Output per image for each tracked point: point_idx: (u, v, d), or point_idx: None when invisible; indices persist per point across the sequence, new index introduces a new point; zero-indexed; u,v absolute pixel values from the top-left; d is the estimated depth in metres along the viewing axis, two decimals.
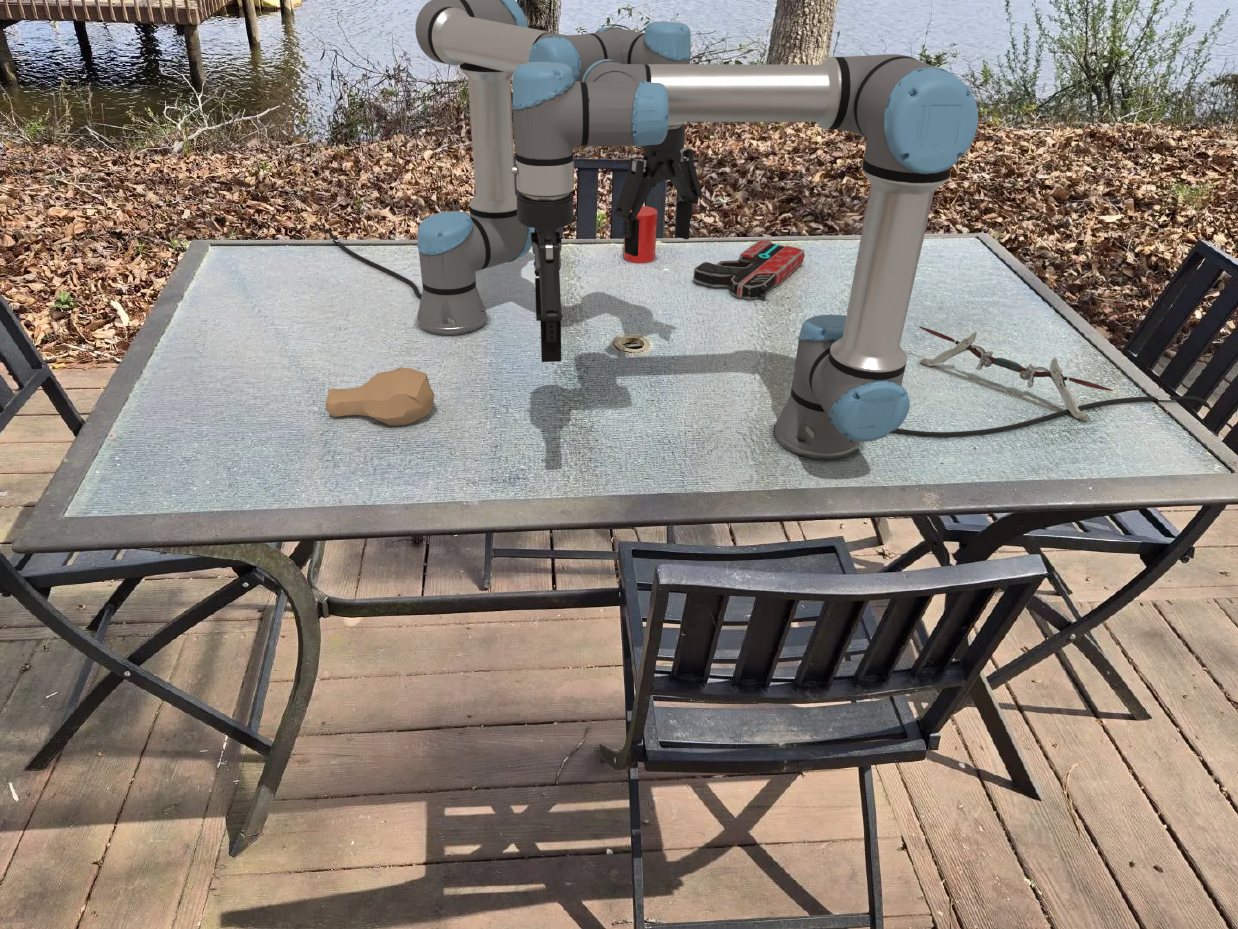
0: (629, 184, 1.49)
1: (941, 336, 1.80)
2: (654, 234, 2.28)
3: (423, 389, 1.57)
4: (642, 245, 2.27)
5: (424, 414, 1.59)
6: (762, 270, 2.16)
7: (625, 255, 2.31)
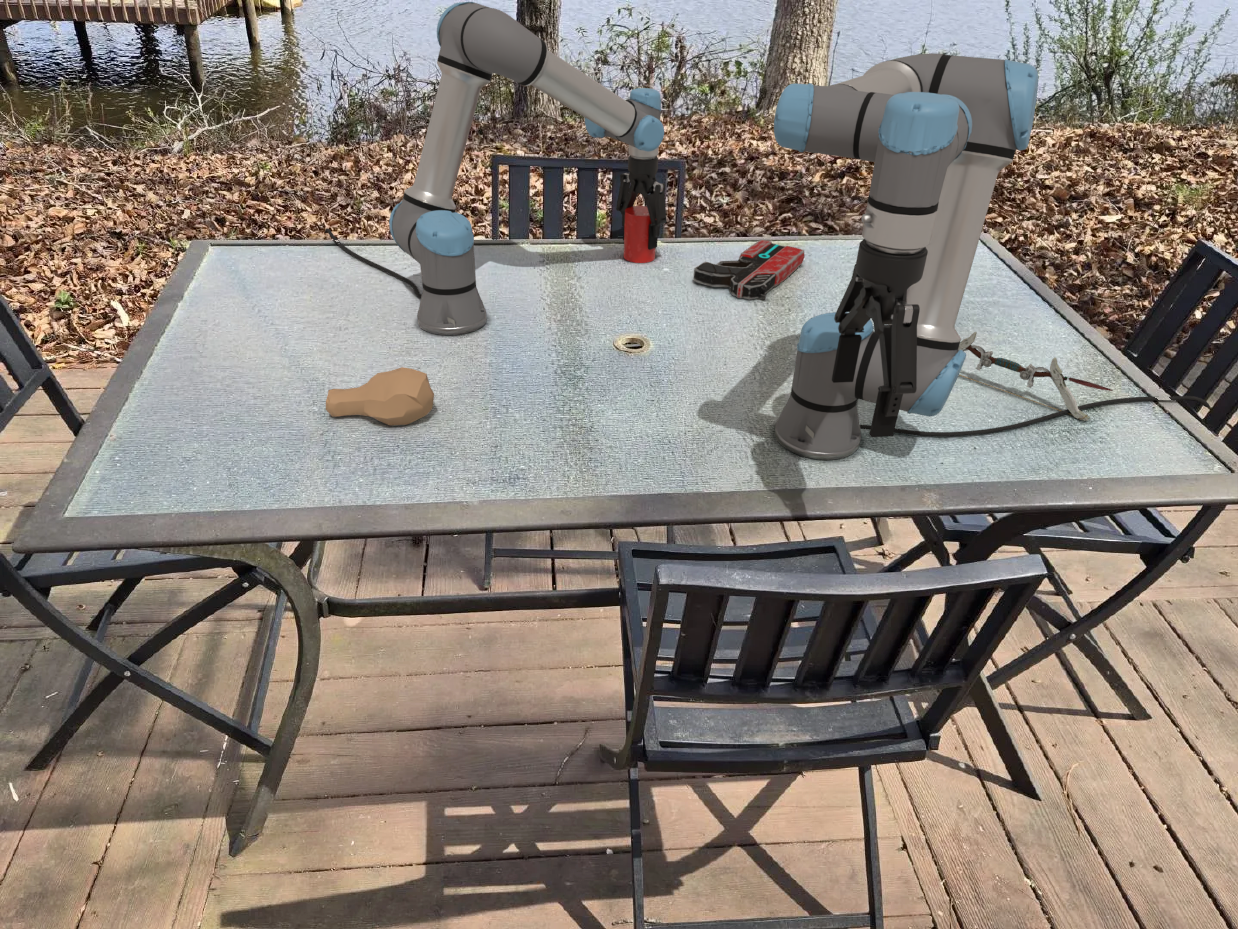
0: (661, 201, 2.21)
1: None
2: None
3: (423, 389, 1.57)
4: (642, 245, 2.27)
5: (424, 414, 1.59)
6: (762, 270, 2.16)
7: (625, 255, 2.31)
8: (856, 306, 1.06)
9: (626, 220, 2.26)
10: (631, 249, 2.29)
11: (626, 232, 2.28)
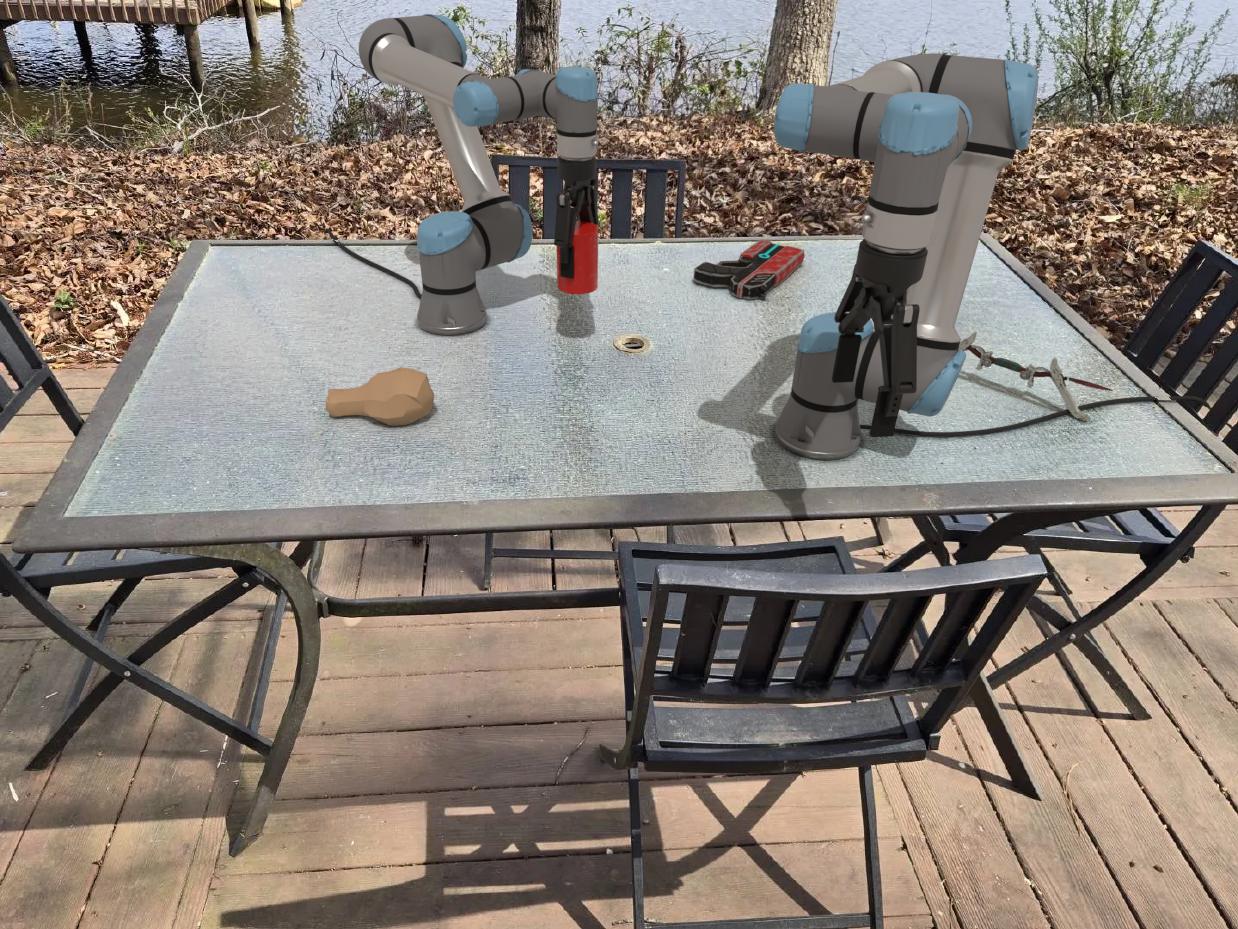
0: (561, 217, 1.67)
1: None
2: None
3: (423, 389, 1.57)
4: (558, 267, 1.77)
5: (424, 414, 1.59)
6: (762, 270, 2.16)
7: None
8: (856, 306, 1.06)
9: None
10: None
11: None
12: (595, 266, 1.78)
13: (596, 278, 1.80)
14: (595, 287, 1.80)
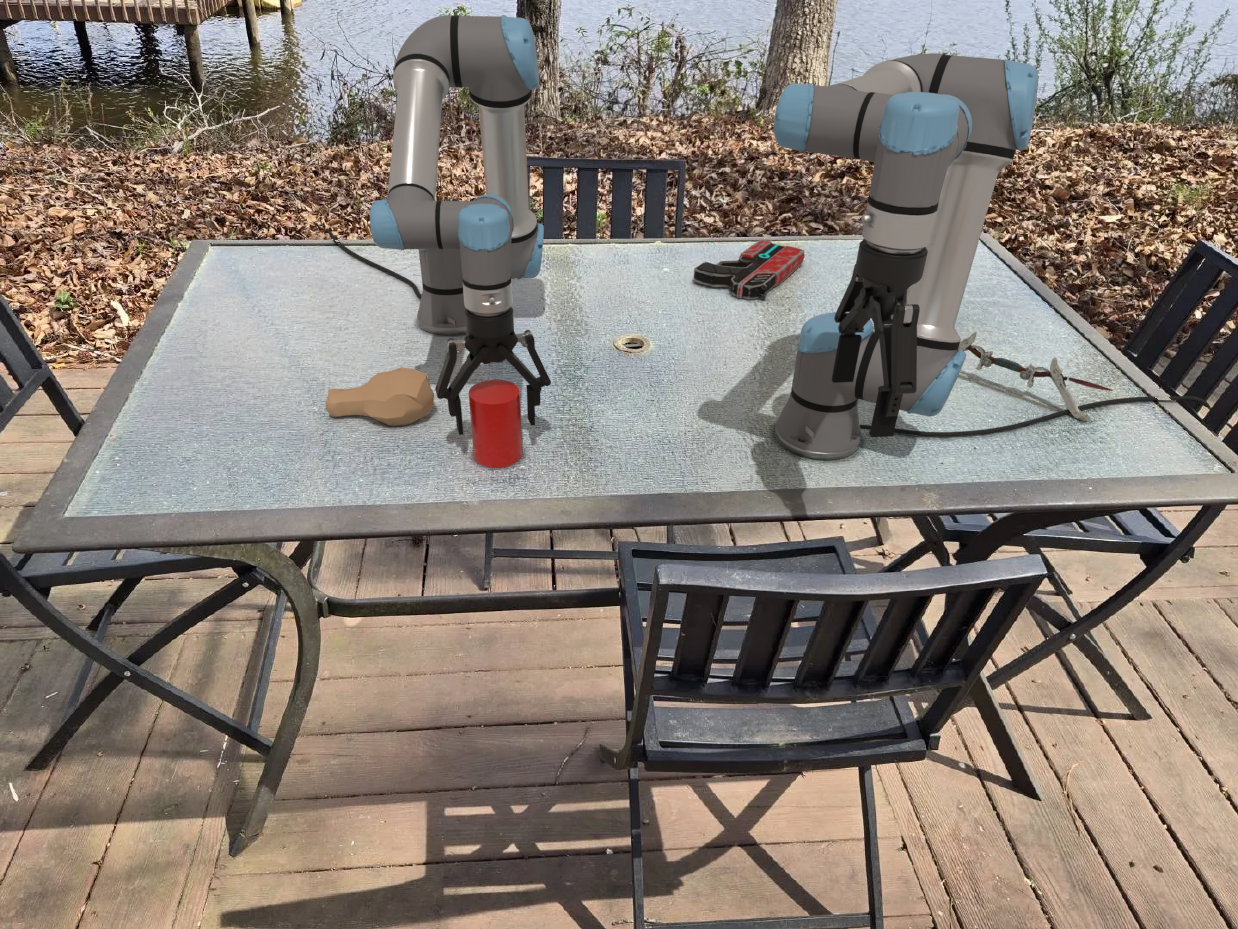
0: (445, 365, 1.40)
1: None
2: (473, 426, 1.47)
3: (423, 389, 1.57)
4: None
5: (424, 414, 1.59)
6: (762, 270, 2.16)
7: None
8: (856, 306, 1.06)
9: None
10: None
11: None
12: (499, 442, 1.46)
13: (503, 455, 1.48)
14: (501, 464, 1.49)
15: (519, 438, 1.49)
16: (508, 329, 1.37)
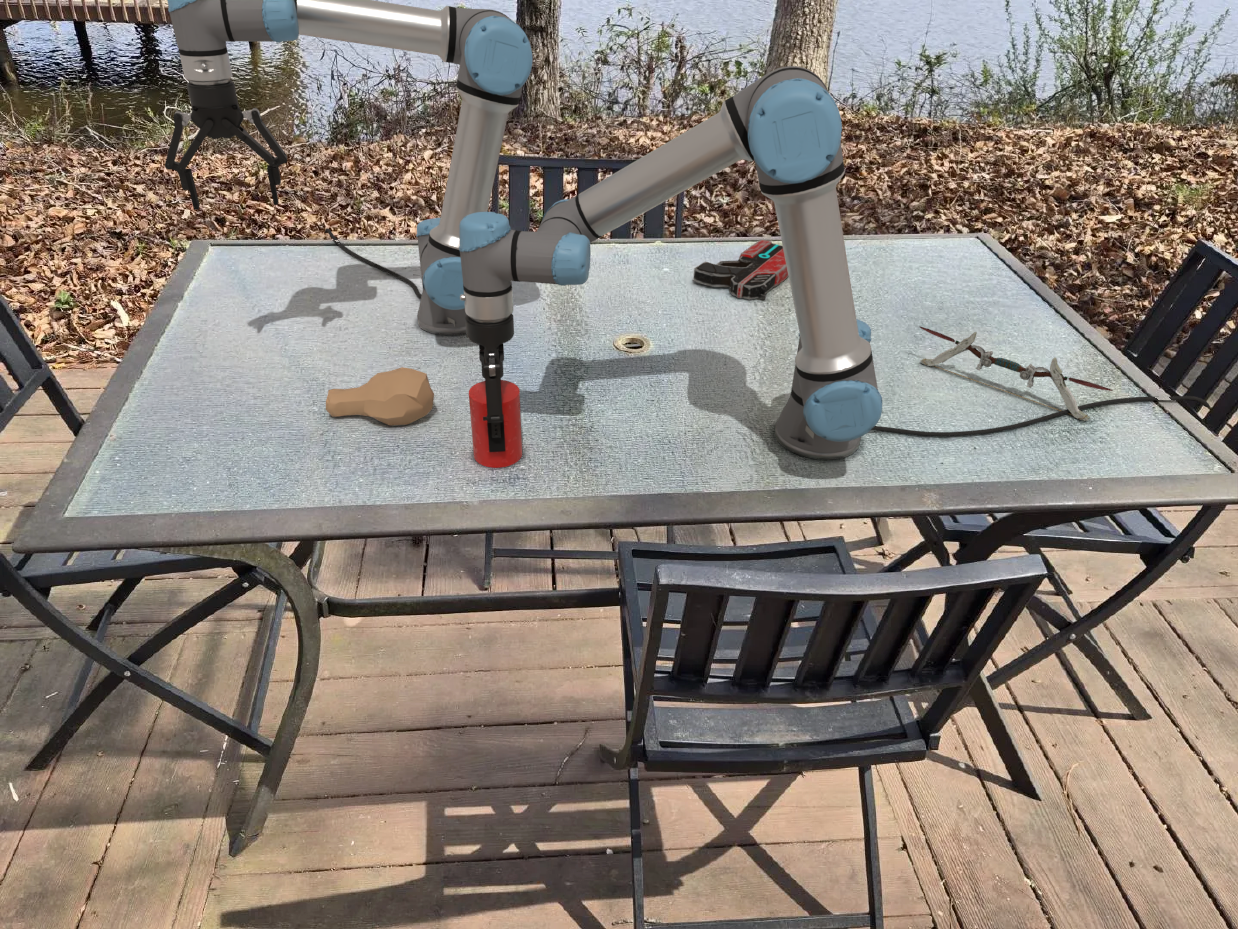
0: None
1: (941, 336, 1.80)
2: (473, 426, 1.47)
3: (423, 389, 1.57)
4: None
5: (424, 414, 1.59)
6: (762, 270, 2.16)
7: None
8: None
9: None
10: None
11: None
12: None
13: (503, 455, 1.48)
14: (501, 464, 1.49)
15: (519, 438, 1.49)
16: (227, 100, 1.49)
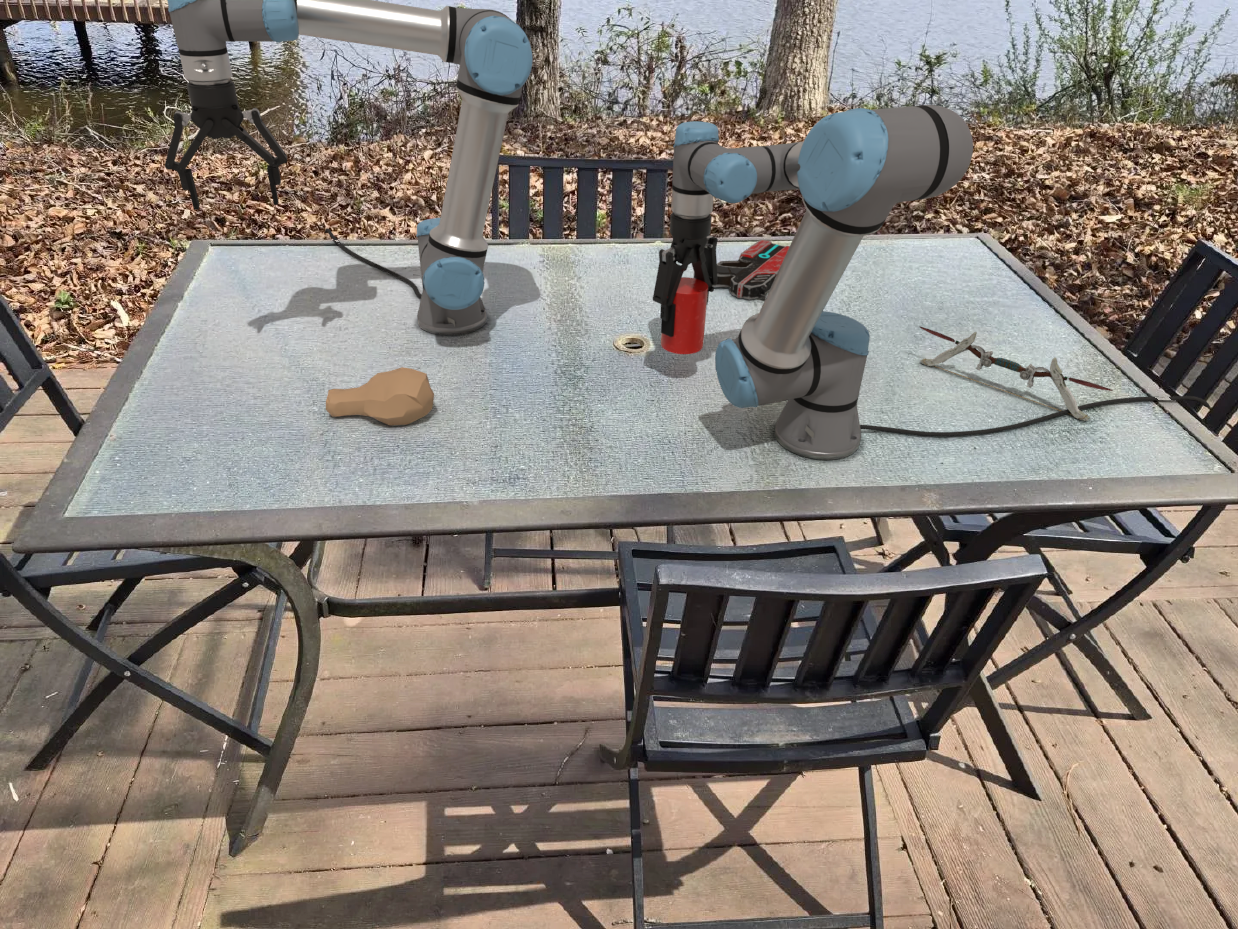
0: None
1: (941, 336, 1.80)
2: None
3: (423, 389, 1.57)
4: None
5: (424, 414, 1.59)
6: (762, 270, 2.16)
7: None
8: None
9: None
10: None
11: None
12: None
13: (672, 341, 1.69)
14: (669, 349, 1.71)
15: (691, 334, 1.68)
16: (227, 100, 1.49)
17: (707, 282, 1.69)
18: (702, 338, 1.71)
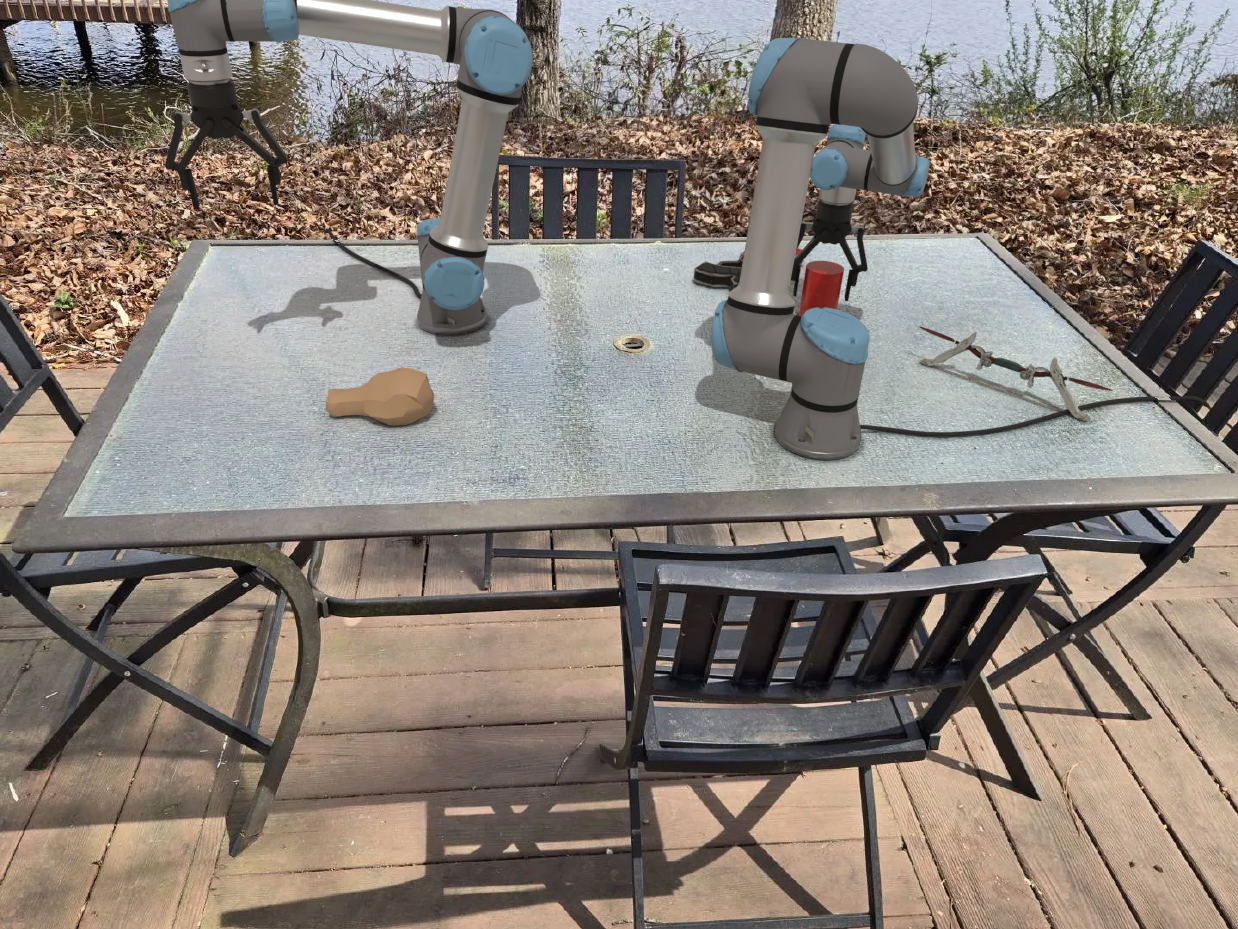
0: None
1: (941, 336, 1.80)
2: None
3: (423, 389, 1.57)
4: None
5: (424, 414, 1.59)
6: None
7: None
8: None
9: (842, 278, 1.96)
10: None
11: None
12: None
13: (800, 309, 2.02)
14: None
15: (811, 307, 1.98)
16: (227, 100, 1.49)
17: (853, 265, 1.94)
18: None
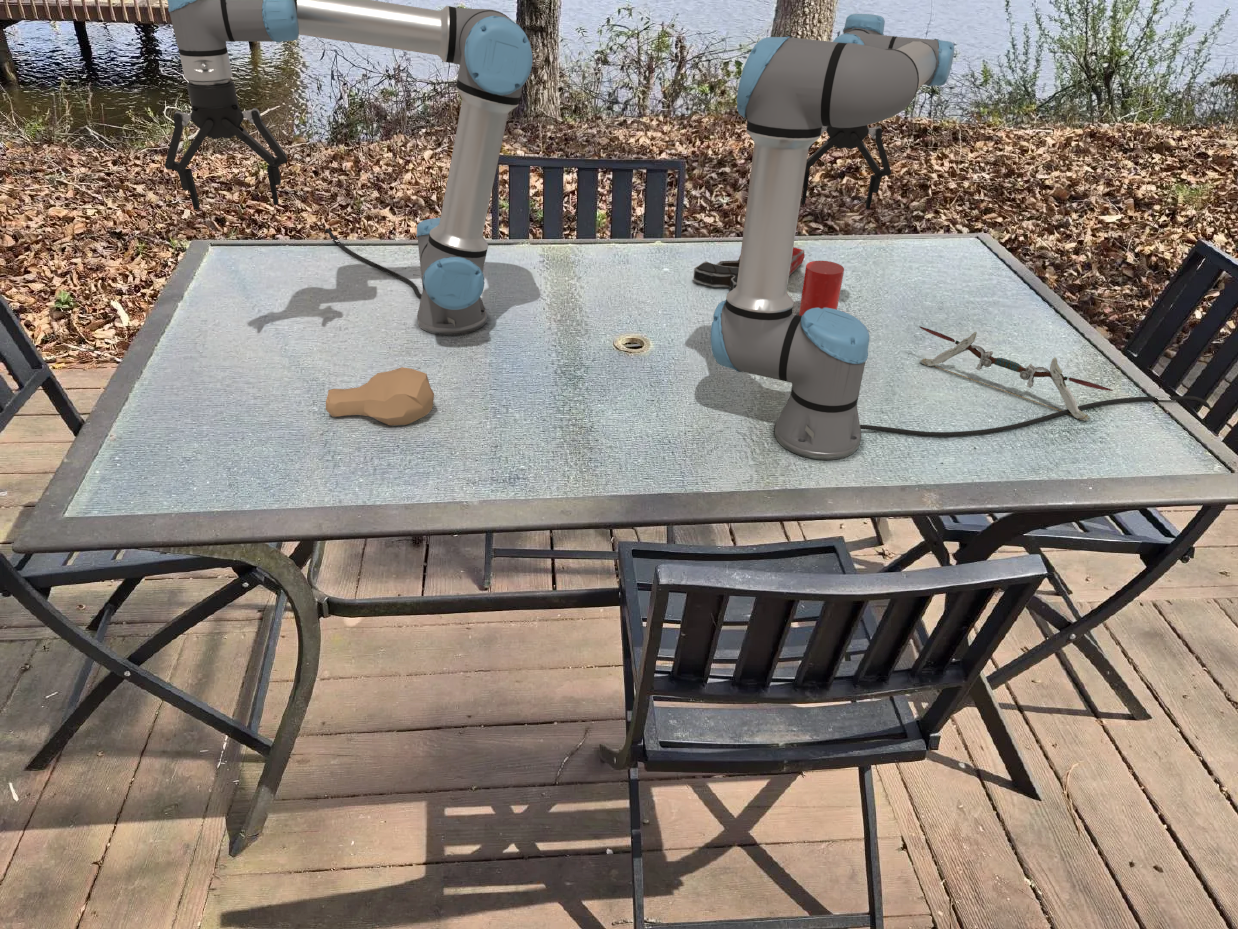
0: None
1: (941, 336, 1.80)
2: None
3: (423, 389, 1.57)
4: None
5: (424, 414, 1.59)
6: None
7: None
8: None
9: (842, 278, 1.96)
10: None
11: None
12: None
13: (800, 309, 2.02)
14: None
15: (811, 307, 1.98)
16: (227, 100, 1.49)
17: (874, 169, 1.82)
18: None
